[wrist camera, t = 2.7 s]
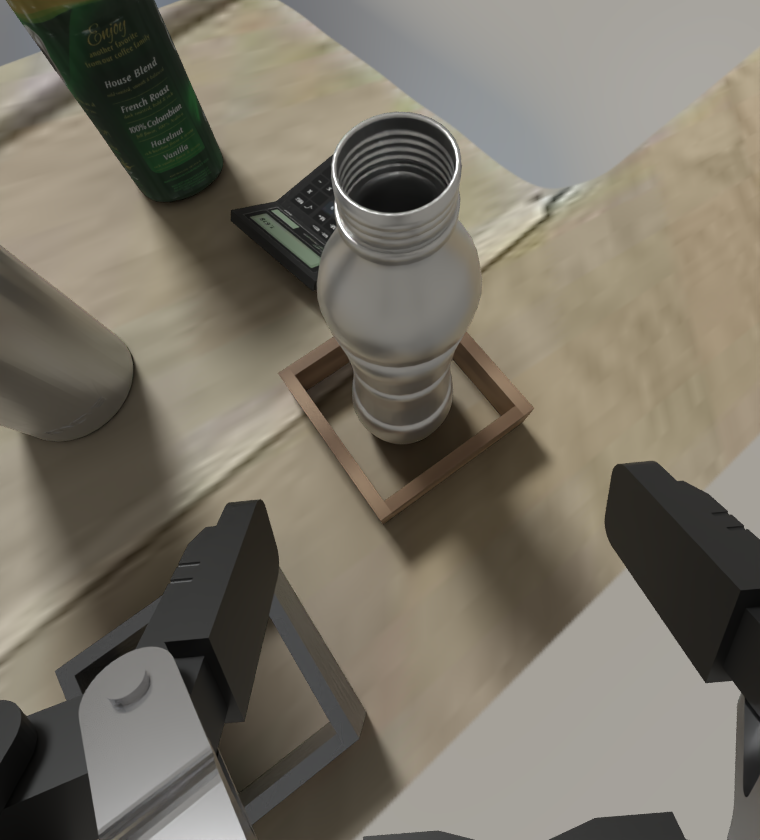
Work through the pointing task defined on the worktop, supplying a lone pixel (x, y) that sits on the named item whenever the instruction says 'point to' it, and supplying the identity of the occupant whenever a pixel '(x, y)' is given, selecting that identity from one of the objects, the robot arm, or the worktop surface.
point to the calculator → (295, 224)
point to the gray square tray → (310, 660)
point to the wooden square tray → (512, 415)
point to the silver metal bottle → (399, 271)
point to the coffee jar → (129, 88)
